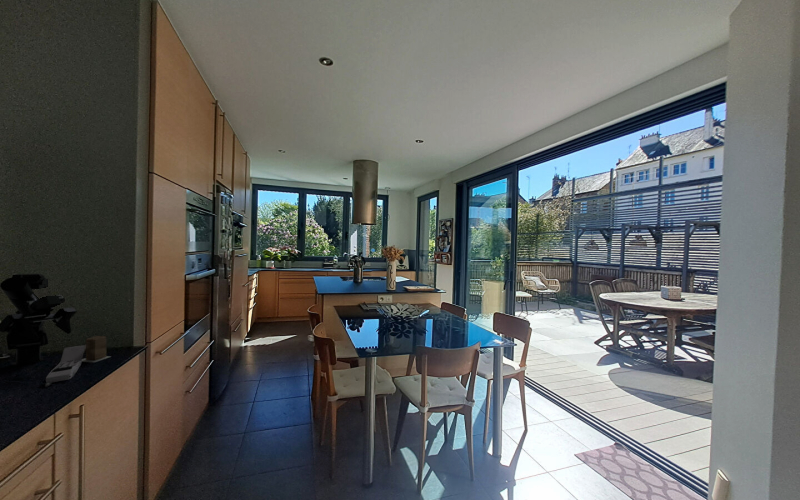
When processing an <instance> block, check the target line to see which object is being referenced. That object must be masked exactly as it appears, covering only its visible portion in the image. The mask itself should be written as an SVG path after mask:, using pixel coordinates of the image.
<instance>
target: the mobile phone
mask: <svg viewBox="0 0 800 500" xmlns="http://www.w3.org/2000/svg"><path fill="white" fill-rule="evenodd" d="M85 352H86V344H84V345H83V344H82V345H75V346H69V347H64V349H63V350H62V354H61V355H62V356H61V359H60V362H59V363H58V364H57V365H56V366H55V367H54V368H53V369H51V371H50V372H49V373H48V374H47V376H46V377H45V387H49V386H50V385H51V384H53V383H58V382H62V381H67V380H71V379H72V378H73V377H74V376H75V374H76V373H77V371H78V370H79V368H80V367H81V365H82V362H81V361H82V359H84V358H83V357H84V355H85Z"/></svg>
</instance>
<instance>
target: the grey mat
mask: <svg viewBox="0 0 800 500" xmlns="http://www.w3.org/2000/svg"><path fill="white" fill-rule="evenodd" d="M111 357H112V356H110V355H109V356H108V355H106V357H104V358H101V359H98V360H95V361H94V360H86V357H85V358H82V361H81V363H82V362H83V363H97V362H100V361H103V360H106V359H108V358H111Z"/></svg>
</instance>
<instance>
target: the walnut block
mask: <svg viewBox="0 0 800 500" xmlns="http://www.w3.org/2000/svg"><path fill="white" fill-rule="evenodd" d="M85 345H86V349H85V358H86V360H94V361H95V360H98V359H101V358H104V357H106V356H107V336H103V335H96V336H93V337H92V336H91V337H89V338H86V339H85Z"/></svg>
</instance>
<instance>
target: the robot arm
mask: <svg viewBox="0 0 800 500" xmlns="http://www.w3.org/2000/svg"><path fill="white" fill-rule="evenodd" d="M48 279H49V278H46V277H45V276H44V275H43V274H42V273H22V274H20V273H19V274H18V273H17V274H12V276H11V277H9V278H6V279H4V280H3V281H2V282H1V283H0V289H1V290H2V291H3V293H4V294H5V296H6V297H7V298H8V300H9V301H10V302H11V304H12V305H13V306H14V307H15V309H17V310H16V312H15V313H14V314H7V315H6V316H5V317H4V318H3V319H2V321H0V333H7V334H6V344H7V345H6V346H7V350H8V351H10V350H15V353H16V354H15V361H14V362H10V365H11V366H17V367H24V366H27V365H32V364H35V363H40V362H43V361H46V360H47V359H46V358H42V357H41V347H44V346H46V345H49V336H48V333H47V332H46V330H45V328H44V323H45V322H46V321H52V322H53V323H55V324H54V326H55V327H57V328H59V329H60V330H61V331H62V332H64V333H66V334H68V335H70V334H71V333H72V330H71V329H72V328H71V318H73V317H74V315H76V314H77V313H78V311H77V310H76V309H75V307H72V306H71V307H64V308H63V307H61V308H59V309H58V310H57V311H56V312H55V313H51V312H53V311H54V310H55V308H53V307H55V306H57V305H60V304H61V303H62V304H63V303H65V301H66V298H64V297H63V296H62V295H55V296H46V297H42V298H40V299H39V298H38V297H37V296H36V295H35V294H34V290H35V289H39V290H42V289H41V288H46V287H48ZM62 304H61V305H62ZM61 305H60V306H61Z"/></svg>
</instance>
